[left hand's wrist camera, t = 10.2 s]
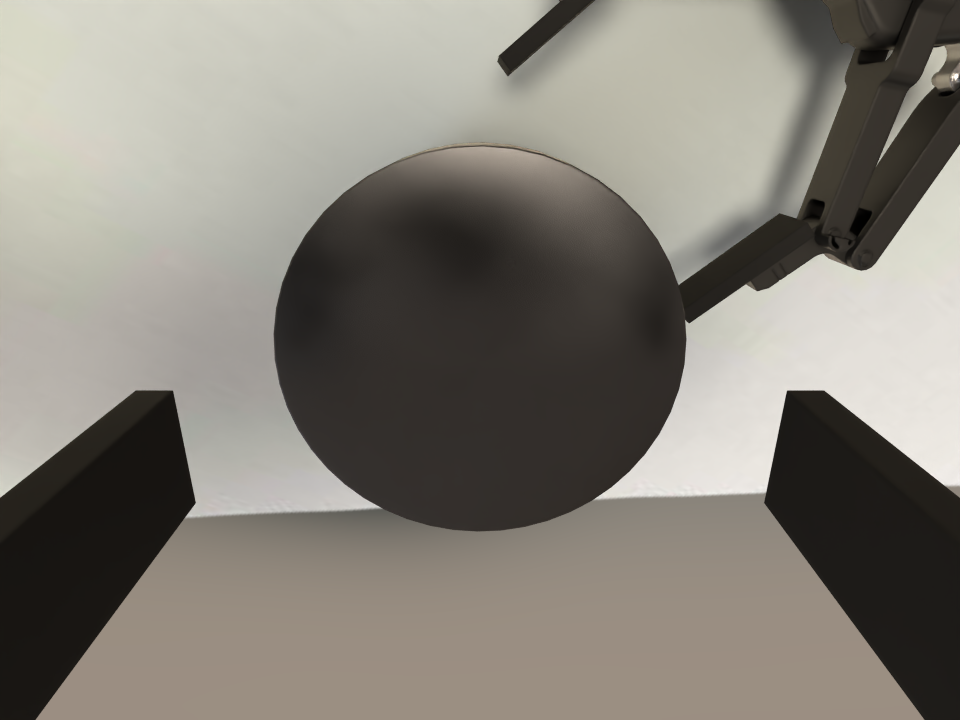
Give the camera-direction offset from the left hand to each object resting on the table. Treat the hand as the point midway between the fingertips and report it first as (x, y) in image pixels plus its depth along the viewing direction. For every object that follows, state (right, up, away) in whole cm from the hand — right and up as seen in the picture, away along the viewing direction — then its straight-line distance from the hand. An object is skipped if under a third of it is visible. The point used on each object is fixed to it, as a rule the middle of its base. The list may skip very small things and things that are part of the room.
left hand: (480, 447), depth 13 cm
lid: (0, +2, +5) cm, 5 cm away
